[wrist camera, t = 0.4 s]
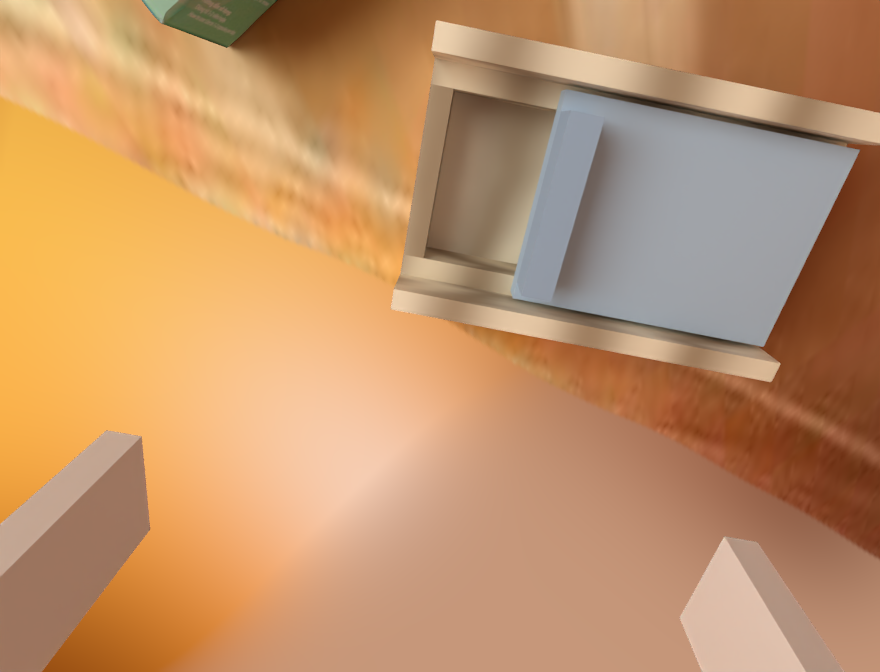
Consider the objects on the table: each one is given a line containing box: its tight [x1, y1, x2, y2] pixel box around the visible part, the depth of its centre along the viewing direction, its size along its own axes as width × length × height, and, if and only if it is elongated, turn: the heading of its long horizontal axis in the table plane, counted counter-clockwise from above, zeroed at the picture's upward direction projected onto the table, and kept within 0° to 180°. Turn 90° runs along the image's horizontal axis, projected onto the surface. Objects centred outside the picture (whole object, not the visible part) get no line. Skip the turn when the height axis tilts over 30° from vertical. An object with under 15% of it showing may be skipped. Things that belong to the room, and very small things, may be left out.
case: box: [391, 20, 880, 382], centre depth 29 cm, size 22×14×7 cm, turn 79°
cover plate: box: [511, 89, 860, 347], centre depth 26 cm, size 15×11×4 cm
